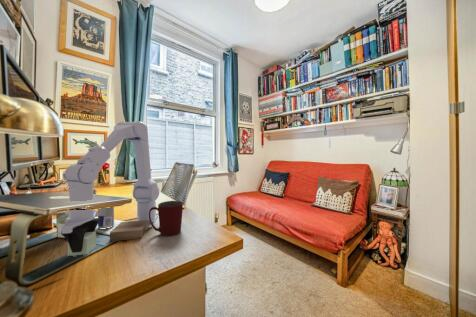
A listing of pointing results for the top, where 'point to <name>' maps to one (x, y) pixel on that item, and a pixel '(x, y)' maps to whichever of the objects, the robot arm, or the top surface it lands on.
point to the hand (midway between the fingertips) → (82, 247)
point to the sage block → (85, 244)
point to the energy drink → (106, 217)
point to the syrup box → (61, 222)
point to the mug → (169, 217)
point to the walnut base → (129, 230)
